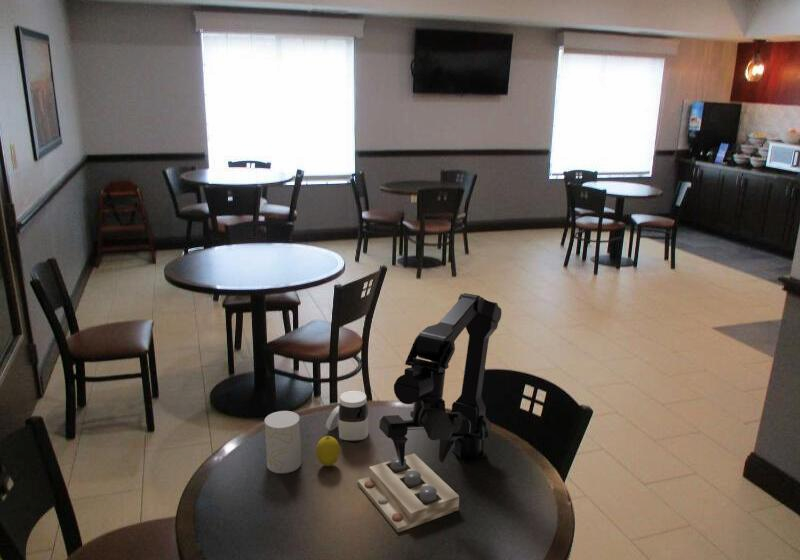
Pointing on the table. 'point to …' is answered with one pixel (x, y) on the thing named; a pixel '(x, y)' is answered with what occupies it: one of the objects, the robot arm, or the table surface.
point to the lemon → (328, 450)
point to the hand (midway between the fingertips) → (421, 463)
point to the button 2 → (428, 495)
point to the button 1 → (397, 465)
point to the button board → (407, 494)
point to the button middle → (412, 479)
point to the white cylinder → (283, 441)
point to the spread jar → (350, 417)
